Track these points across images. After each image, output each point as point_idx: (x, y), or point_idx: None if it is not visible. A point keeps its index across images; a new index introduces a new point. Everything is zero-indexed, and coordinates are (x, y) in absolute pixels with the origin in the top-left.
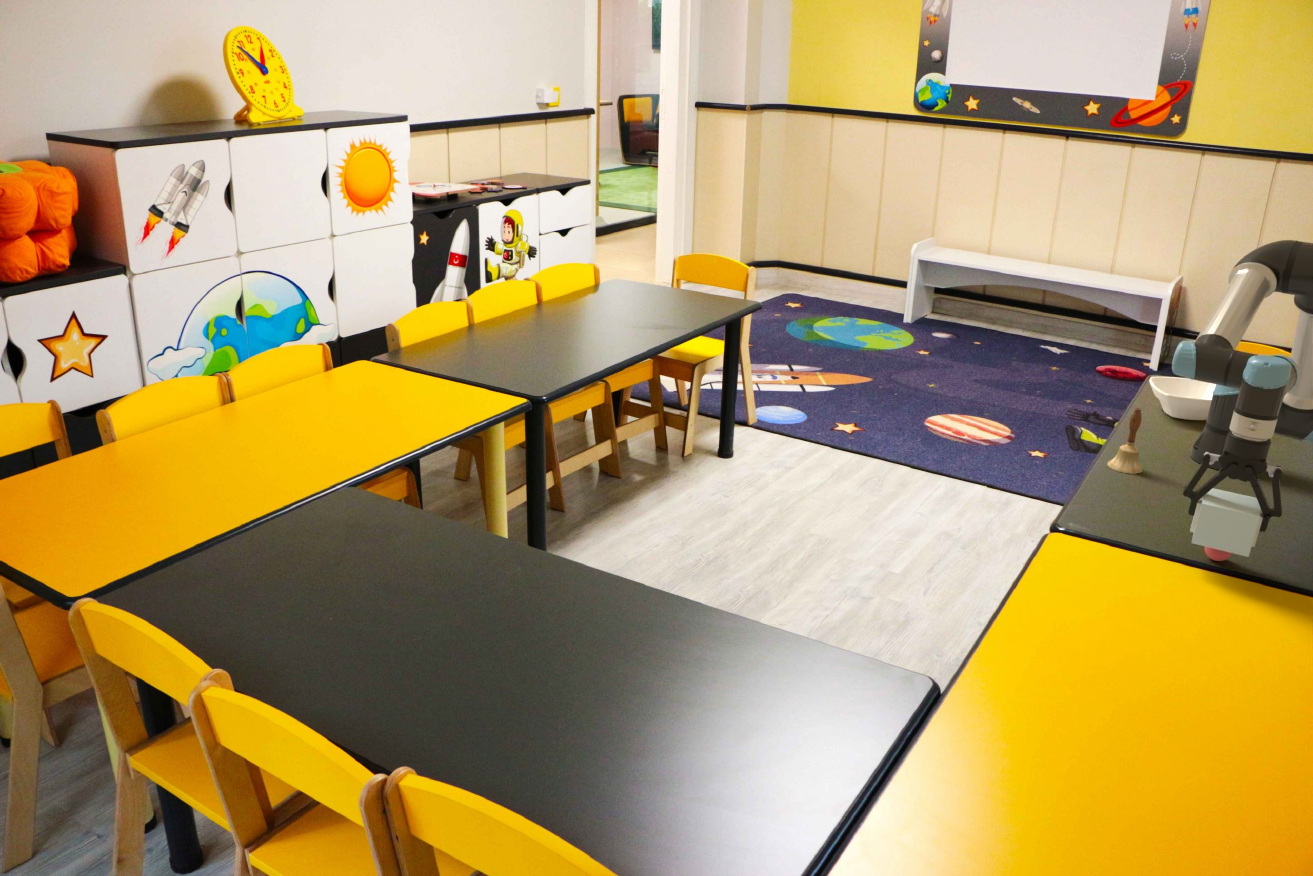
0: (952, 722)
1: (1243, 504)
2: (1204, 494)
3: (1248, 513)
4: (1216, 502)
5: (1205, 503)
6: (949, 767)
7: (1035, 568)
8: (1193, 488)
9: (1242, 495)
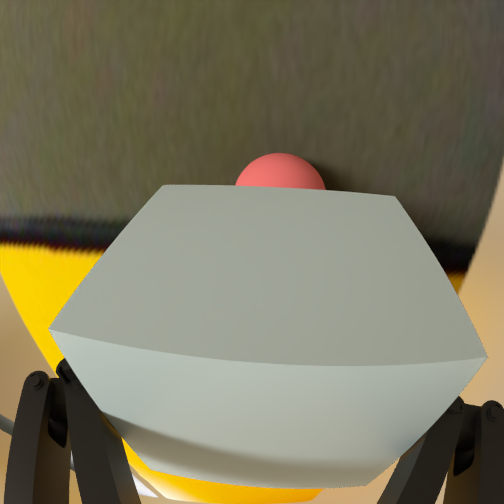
0: (150, 479)
1: (321, 459)
2: (122, 451)
3: (326, 486)
4: (193, 466)
5: (161, 470)
6: (166, 488)
7: (49, 362)
8: (70, 451)
9: (348, 380)
